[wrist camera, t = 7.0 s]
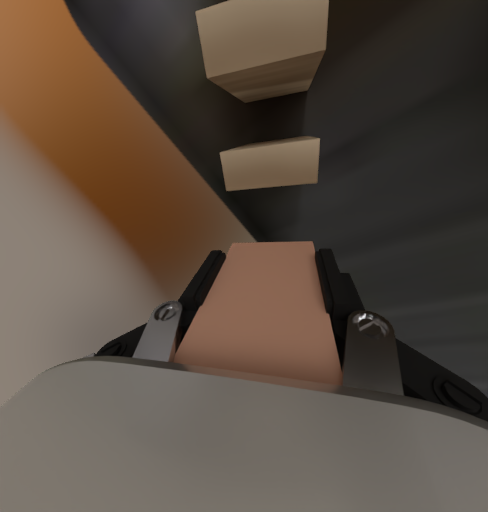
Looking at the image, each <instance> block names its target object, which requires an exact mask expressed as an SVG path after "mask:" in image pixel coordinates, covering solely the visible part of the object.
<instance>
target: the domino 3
mask: <svg viewBox="0 0 488 512" xmlns="http://www.w3.org/2000/svg"><path fill="white" fill-rule="evenodd" d="M173 363H180V364H188V365H196V366H203V367H211V368H218V369H226V370H233V371H240V372H248V373H255V374H262V375H270V376H277V377H284V378H291V379H298V380H305V381H312V382H319V383H326V384H333V385H341V382H342V370H341V366H340V361H339V357H338V352H337V348H336V343H335V339H334V334H333V330H332V326H331V321H330V317H329V314H327V313H326V310H325V305H324V300H323V295H322V290H321V286H320V281H319V276H318V271H317V266H316V262H315V249H314V245H313V241H304V242H256V243H233V244H232V245H231V247H230V249H229V251H228V253H227V255H226V260H225V262H224V263H223V265H222V267H221V269H220V271H219V273H218V275H217V277H216V279H215V281H214V283H213V285H212V287H211V289H210V291H209V293H208V295H207V297H206V299H205V301H204V303H203V305H202V306H200V307H199V309H198V311H197V313H196V315H195V317H194V319H193V321H192V323H191V325H190V327H189V329H188V331H187V332H186V334H185V336H184V338H183V340H182V342H181V344H180V346H179V348H178V350H177V352H176V354H175V358H174V362H173Z"/></svg>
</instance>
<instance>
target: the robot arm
mask: <svg viewBox="0 0 488 512" xmlns="http://www.w3.org/2000/svg"><path fill="white" fill-rule="evenodd" d="M225 260H226V255H225V253H222V251H221V250H214V251H211V252H210V254H209V255H208V257H207V258H206V260H205V261H204V263H203V264H202V266H201V267H200V269H199V270H198V272H197V273H196V274H195V276H194V277H193V279H192V280H191V282H190V283H189V285H188V287H187V288H186V290H185V291H184V292H183V294H182V296H181V297H180V299H179V300H178V301H168V302H165V303H162V304H161V305H159V306H158V307H156V308H155V309H154V311H153V312H152V314H151V316H150V318H149V320H148V323H146V324H144V325H142V326H140V327H138V328H136V329H134V330H132V331H130V332H128V333H126V334H124V335H122V336H120V337H118V338H116V339H114V340H112V341H110V342H109V343H107V344H106V345H104V347H102V348H101V349H100V350H99V351H98V352H97V354H95V353H92V354H90V355H88V356H86V357H83V358H81V359H77V360H73V361H69V362H65V363H62V364H59V365H57V366H54V367H52V368H50V369H48V370H46V371H44V372H42V373H41V374H39V375H38V376H36V377H35V378H34V379H32V380H31V381H30V382H28V383H27V384H26V385H25V386H24V387H23V388H21V389H20V390H19V391H18V392H17V393H15V394H14V395H13V396H12V397H11V398H10V399H9V400H8V401H6V402H5V403H4V404H3V405H2V406H1V407H0V512H488V398H487V397H486V396H485V395H484V394H483V393H482V392H481V391H480V390H479V389H477V388H476V387H475V386H473V385H472V384H470V383H469V382H467V381H466V380H464V379H462V378H461V377H459V376H457V375H456V374H454V373H452V372H451V371H449V370H448V369H446V368H444V367H443V366H441V365H439V364H438V363H436V362H434V361H433V360H431V359H429V358H428V357H426V356H424V355H423V354H421V353H419V352H418V351H416V350H414V349H413V348H411V347H409V346H408V345H406V344H404V343H403V342H401V341H399V340H398V339H396V338H395V333H394V330H393V327H392V325H391V324H390V323H389V321H387V320H386V319H385V318H384V317H382V316H380V315H378V314H376V313H374V312H370V311H365V309H364V306H363V304H362V302H361V299H360V297H359V295H358V292H357V290H356V288H355V285H354V283H353V281H352V279H351V276H350V274H349V273H340V272H339V269H338V266H337V263H336V261H335V258H334V255H333V253H332V250H331V249H319V252H315V262H316V266H317V271H318V276H319V281H320V286H321V290H322V295H323V300H324V305H325V310H326V313H327V314H329V317H330V321H331V326H332V330H333V334H334V339H335V343H336V348H337V352H338V357H339V361H340V366H341V370H342V382H341V385H333V384H326V383H319V382H312V381H305V380H298V379H291V378H284V377H277V376H270V375H262V374H255V373H248V372H240V371H233V370H226V369H218V368H211V367H203V366H196V365H188V364H180V363H173V362H174V358H175V354H176V352H177V350H178V348H179V346H180V344H181V342H182V340H183V338H184V336H185V334H186V332H187V331H188V329H189V327H190V325H191V323H192V321H193V319H194V317H195V315H196V313H197V311H198V309H199V307H200V306H202V305H203V303H204V301H205V299H206V297H207V295H208V293H209V291H210V289H211V287H212V285H213V283H214V281H215V279H216V277H217V275H218V273H219V271H220V269H221V267H222V265H223V263H224V262H225Z"/></svg>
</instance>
